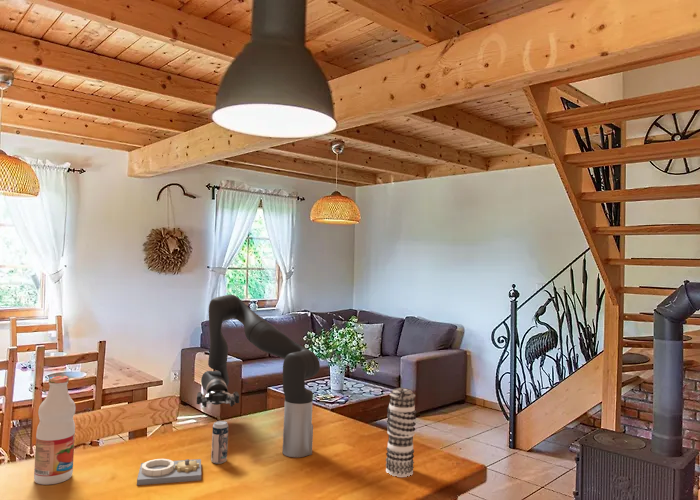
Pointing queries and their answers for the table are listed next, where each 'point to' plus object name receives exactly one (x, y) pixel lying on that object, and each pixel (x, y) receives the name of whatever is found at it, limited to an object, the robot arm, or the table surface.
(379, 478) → the table surface
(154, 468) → the gear board
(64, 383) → the fruit juice
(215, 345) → the robot arm
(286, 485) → the table surface
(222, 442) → the beer can
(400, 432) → the decorative candle
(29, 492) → the table surface
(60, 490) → the table surface
